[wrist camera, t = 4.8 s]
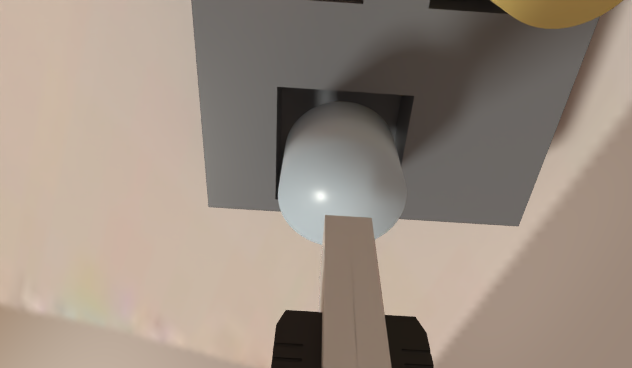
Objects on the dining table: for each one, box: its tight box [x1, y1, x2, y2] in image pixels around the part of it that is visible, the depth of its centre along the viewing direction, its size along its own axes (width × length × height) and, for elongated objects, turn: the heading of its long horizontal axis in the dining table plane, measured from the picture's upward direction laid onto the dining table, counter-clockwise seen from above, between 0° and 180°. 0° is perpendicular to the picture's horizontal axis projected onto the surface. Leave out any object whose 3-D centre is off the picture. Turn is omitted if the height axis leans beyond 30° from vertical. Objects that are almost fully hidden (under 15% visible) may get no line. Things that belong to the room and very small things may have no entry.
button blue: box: [278, 101, 407, 245], centre depth 19 cm, size 5×5×4 cm
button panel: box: [191, 0, 600, 226], centre depth 19 cm, size 16×15×4 cm
